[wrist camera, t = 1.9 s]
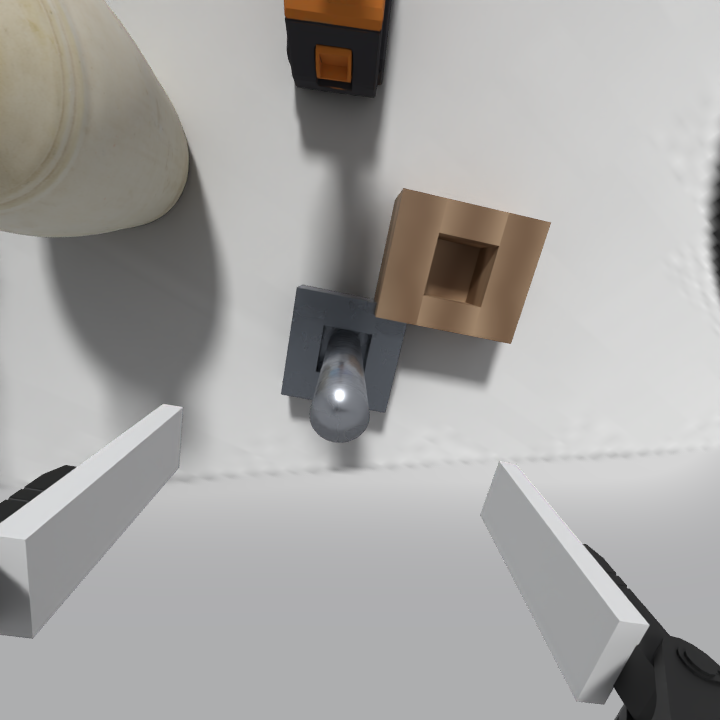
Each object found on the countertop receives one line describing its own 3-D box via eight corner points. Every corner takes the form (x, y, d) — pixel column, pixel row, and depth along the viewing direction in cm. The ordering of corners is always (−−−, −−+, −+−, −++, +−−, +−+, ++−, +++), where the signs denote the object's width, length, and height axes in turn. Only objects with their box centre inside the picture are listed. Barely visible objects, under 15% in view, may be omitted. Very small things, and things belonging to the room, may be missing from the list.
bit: (325, 358, 34) (305, 437, 18) (331, 327, 33) (314, 382, 17) (356, 363, 34) (362, 446, 18) (363, 333, 33) (375, 393, 18)
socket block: (287, 381, 35) (281, 394, 31) (302, 284, 32) (296, 287, 29) (381, 398, 36) (385, 412, 32) (403, 305, 33) (410, 309, 30)
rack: (371, 309, 33) (375, 317, 28) (395, 200, 30) (403, 188, 25) (487, 332, 34) (510, 343, 29) (520, 228, 31) (550, 222, 26)
